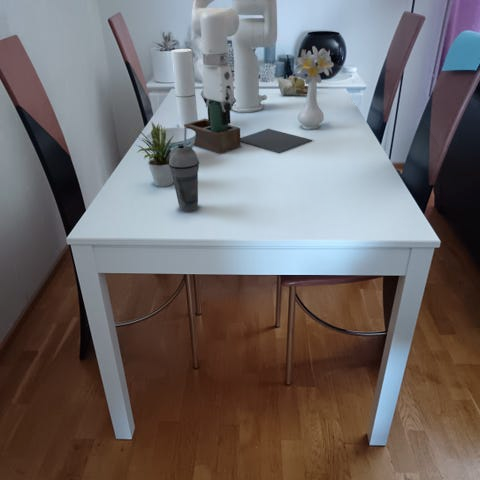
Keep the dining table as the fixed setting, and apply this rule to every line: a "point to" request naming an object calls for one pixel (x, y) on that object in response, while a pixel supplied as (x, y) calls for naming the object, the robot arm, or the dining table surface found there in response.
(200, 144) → the caddy
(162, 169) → the house plant
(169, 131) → the chinaware
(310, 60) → the flower vase
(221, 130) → the bottle
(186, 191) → the beverage cup
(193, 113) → the cylindrical container
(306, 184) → the dining table surface
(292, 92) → the ceramic sculpture
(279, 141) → the mat
